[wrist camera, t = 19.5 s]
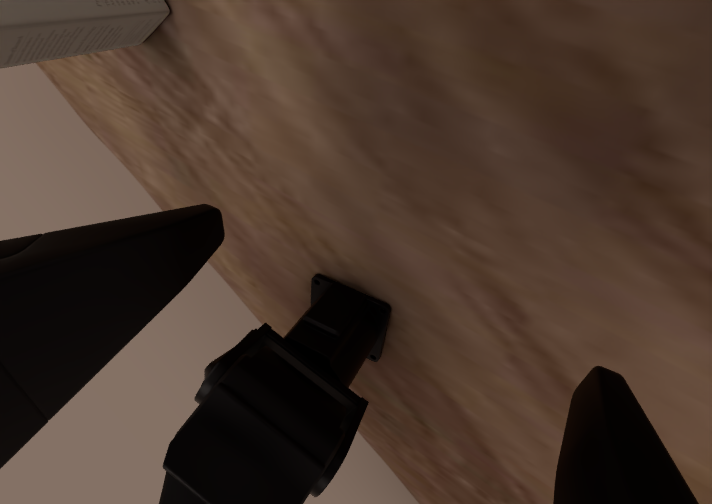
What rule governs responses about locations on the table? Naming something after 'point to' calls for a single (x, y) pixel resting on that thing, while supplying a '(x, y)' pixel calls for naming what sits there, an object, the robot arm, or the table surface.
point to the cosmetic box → (73, 27)
